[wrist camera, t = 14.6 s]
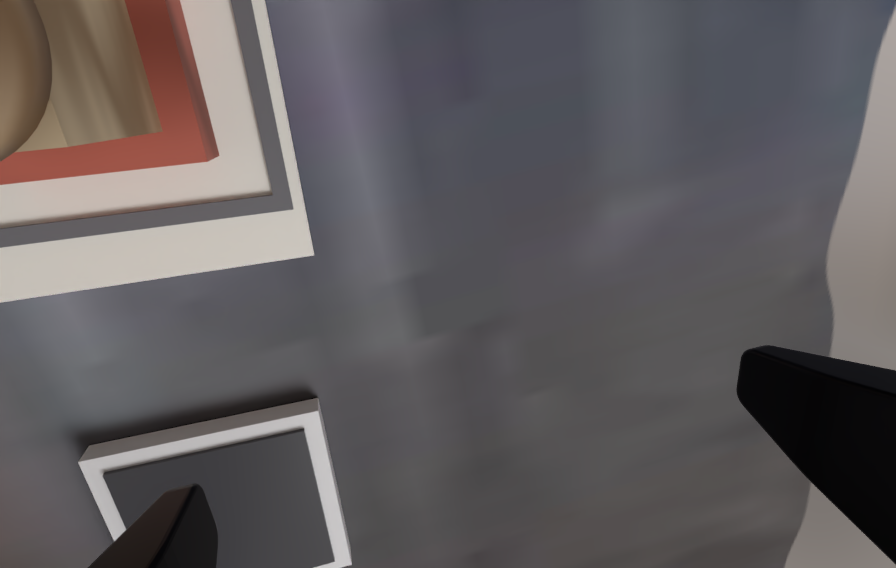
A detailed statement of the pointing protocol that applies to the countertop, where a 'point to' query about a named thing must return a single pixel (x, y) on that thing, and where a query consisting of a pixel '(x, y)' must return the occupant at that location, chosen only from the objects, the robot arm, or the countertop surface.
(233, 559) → the ink pad
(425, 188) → the countertop surface
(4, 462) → the countertop surface
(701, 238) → the countertop surface
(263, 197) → the print sheet
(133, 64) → the stamp
